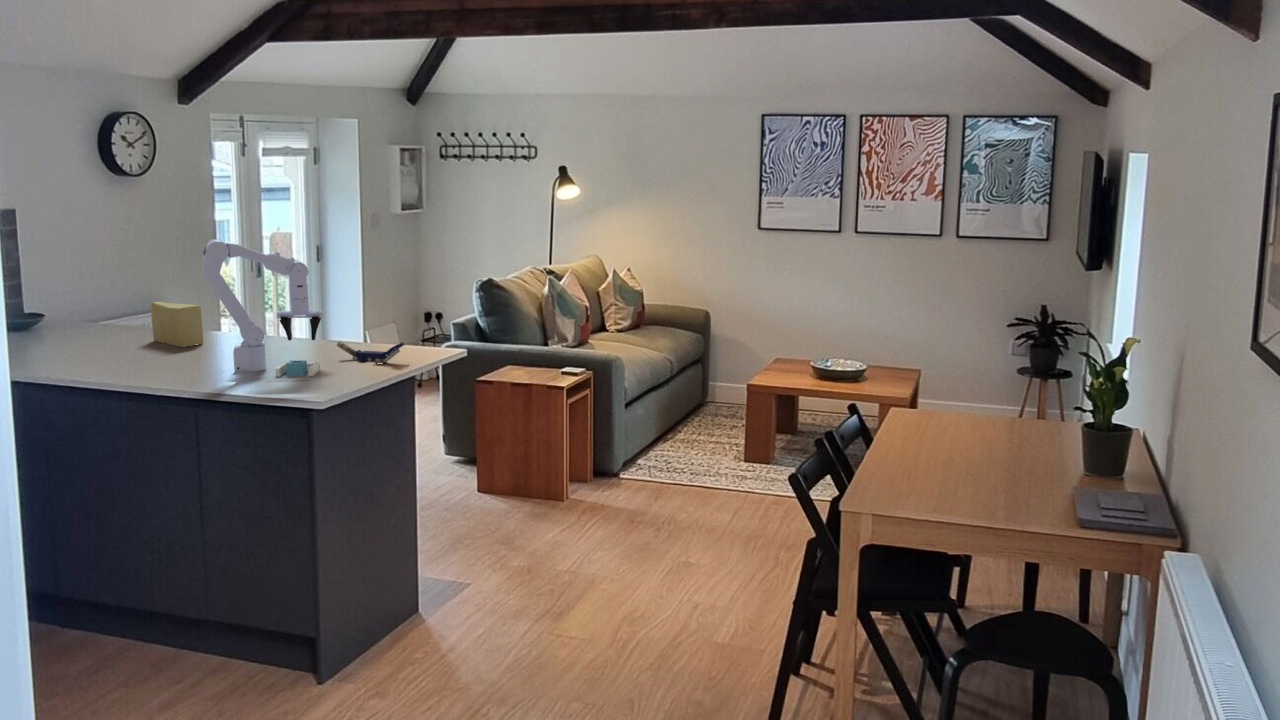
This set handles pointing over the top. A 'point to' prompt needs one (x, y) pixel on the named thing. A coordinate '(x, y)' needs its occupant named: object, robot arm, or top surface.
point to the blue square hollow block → (296, 367)
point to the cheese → (177, 323)
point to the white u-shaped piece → (311, 367)
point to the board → (294, 381)
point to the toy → (371, 353)
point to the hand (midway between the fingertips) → (301, 339)
